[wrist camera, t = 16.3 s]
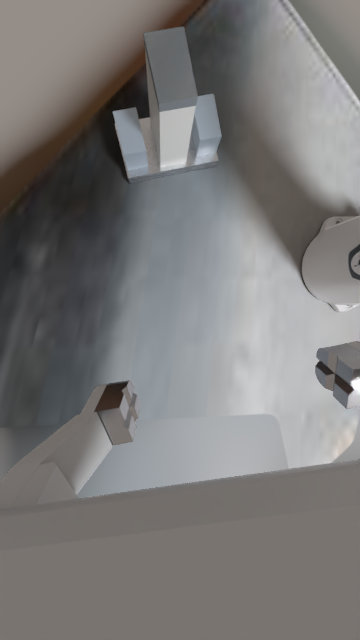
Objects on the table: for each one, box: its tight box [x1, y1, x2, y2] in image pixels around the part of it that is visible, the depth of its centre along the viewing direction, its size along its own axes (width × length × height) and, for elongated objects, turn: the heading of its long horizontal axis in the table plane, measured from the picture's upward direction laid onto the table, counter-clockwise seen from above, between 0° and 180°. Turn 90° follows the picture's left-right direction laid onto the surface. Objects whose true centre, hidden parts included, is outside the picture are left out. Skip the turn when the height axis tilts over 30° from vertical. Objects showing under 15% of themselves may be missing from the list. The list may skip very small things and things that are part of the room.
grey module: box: [144, 27, 198, 167], centre depth 27 cm, size 5×7×11 cm, turn 13°
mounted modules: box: [113, 93, 222, 170], centre depth 31 cm, size 16×6×4 cm, turn 103°
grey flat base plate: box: [115, 117, 219, 183], centre depth 34 cm, size 16×8×2 cm, turn 103°
